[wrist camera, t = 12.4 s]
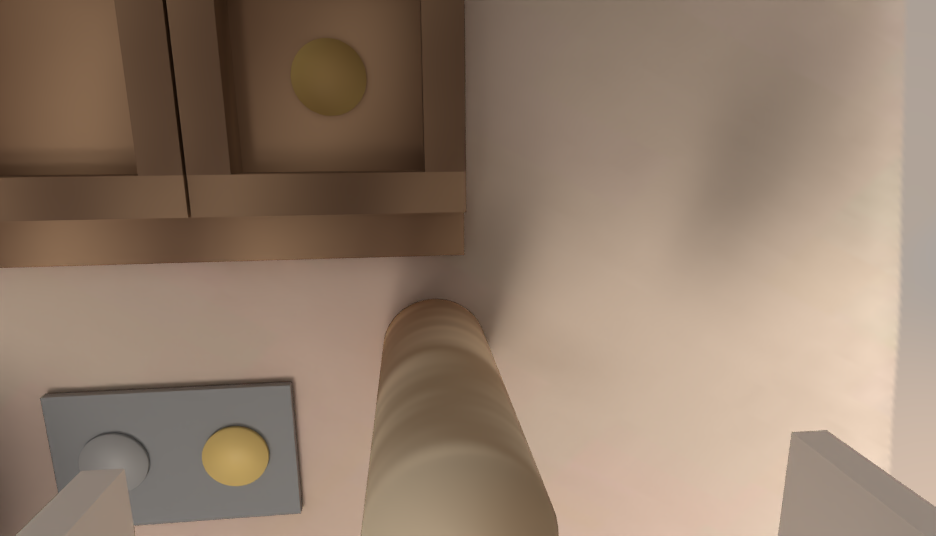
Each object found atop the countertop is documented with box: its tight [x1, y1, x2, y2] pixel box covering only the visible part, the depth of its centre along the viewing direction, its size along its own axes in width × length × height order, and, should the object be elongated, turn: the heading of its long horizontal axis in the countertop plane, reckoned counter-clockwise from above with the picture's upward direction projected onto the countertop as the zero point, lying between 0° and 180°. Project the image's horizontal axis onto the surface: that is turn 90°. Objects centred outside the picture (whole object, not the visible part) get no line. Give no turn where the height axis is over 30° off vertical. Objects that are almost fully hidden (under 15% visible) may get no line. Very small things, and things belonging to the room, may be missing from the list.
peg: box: [361, 299, 558, 536], centre depth 15 cm, size 4×4×10 cm
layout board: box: [0, 0, 466, 268], centre depth 16 cm, size 16×11×2 cm
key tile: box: [40, 382, 302, 525], centre depth 19 cm, size 8×5×1 cm, turn 90°
